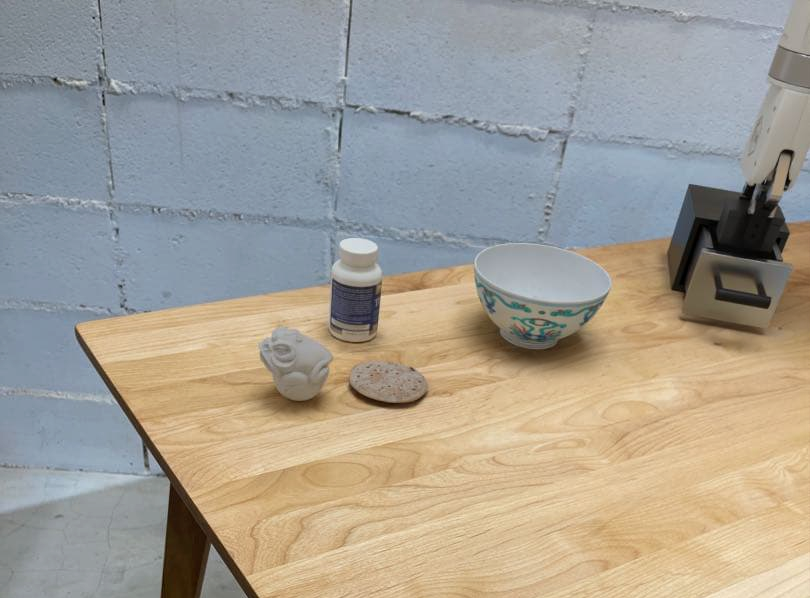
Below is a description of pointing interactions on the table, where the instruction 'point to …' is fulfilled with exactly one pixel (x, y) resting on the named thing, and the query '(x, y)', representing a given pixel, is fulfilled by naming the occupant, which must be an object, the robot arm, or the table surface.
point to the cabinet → (698, 209)
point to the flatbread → (388, 382)
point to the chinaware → (538, 291)
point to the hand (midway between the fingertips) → (744, 238)
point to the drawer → (733, 281)
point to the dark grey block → (733, 218)
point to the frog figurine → (295, 363)
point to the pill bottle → (355, 291)
